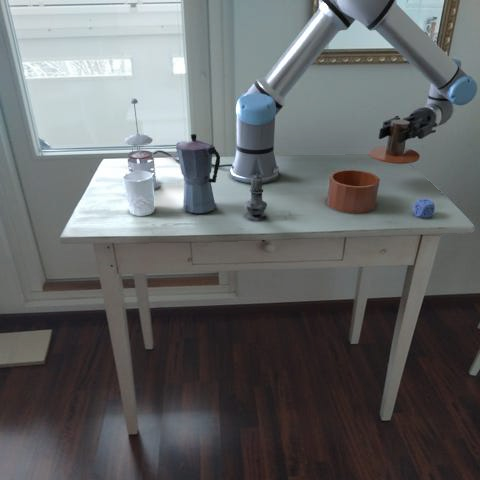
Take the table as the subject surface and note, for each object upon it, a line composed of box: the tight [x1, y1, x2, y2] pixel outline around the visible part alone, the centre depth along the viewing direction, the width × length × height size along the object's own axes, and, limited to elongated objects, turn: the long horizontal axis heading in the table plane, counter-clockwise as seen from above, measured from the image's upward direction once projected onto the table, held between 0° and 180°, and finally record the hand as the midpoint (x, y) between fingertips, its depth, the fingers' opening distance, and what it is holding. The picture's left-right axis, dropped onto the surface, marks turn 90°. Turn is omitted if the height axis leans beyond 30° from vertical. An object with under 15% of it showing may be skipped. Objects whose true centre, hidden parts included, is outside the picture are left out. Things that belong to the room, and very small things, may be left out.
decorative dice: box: [413, 198, 436, 219], centre depth 131 cm, size 4×4×4 cm
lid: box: [368, 120, 421, 165], centre depth 141 cm, size 15×15×10 cm
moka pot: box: [175, 133, 221, 214], centre depth 129 cm, size 10×15×20 cm, turn 54°
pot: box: [326, 169, 381, 214], centre depth 136 cm, size 14×14×8 cm
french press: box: [124, 98, 161, 191], centre depth 142 cm, size 10×12×25 cm
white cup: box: [122, 171, 156, 217], centre depth 131 cm, size 8×8×10 cm
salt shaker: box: [245, 174, 268, 222], centre depth 128 cm, size 6×6×12 cm
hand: (390, 136), depth 136 cm, fingers closed on lid, 5 cm apart
